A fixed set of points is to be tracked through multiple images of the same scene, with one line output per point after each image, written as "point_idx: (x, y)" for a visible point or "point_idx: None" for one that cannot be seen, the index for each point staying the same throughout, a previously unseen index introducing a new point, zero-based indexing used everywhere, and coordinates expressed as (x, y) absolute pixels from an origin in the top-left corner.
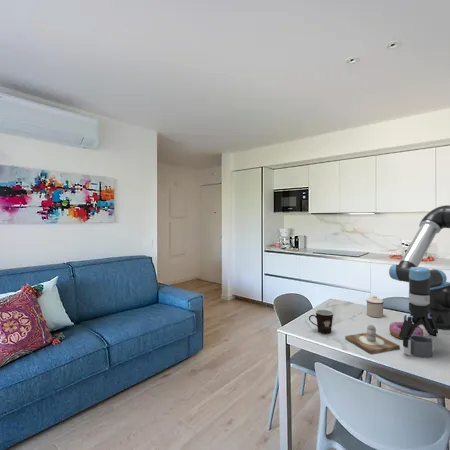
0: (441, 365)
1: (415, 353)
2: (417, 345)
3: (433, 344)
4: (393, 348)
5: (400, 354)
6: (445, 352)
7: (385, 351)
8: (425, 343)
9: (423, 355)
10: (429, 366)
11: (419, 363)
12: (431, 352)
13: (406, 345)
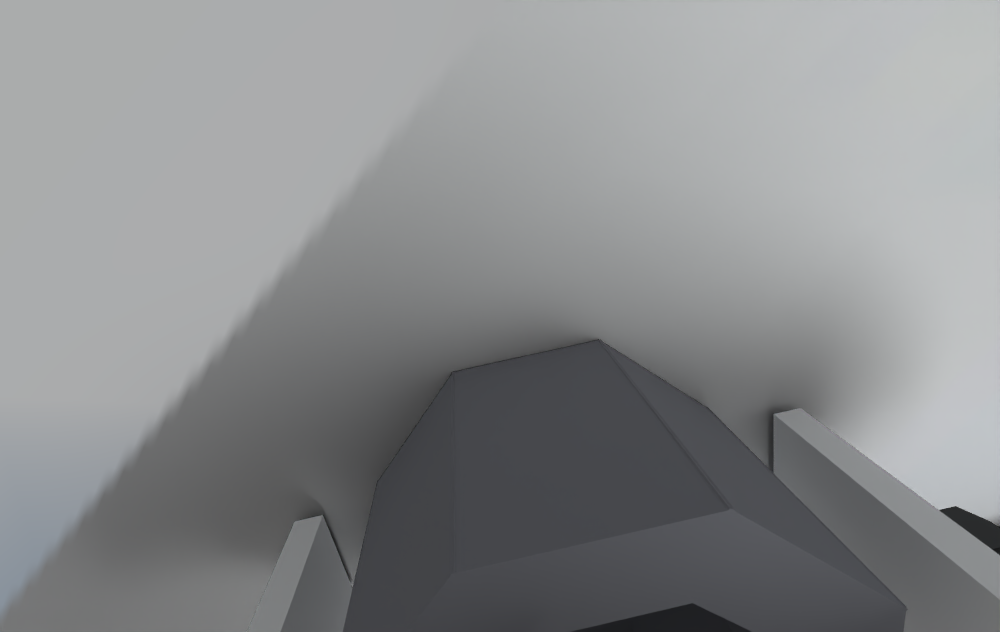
0: (539, 62)
1: (722, 425)
2: (802, 522)
3: (254, 623)
4: None
5: None
6: (109, 482)
7: None
8: (710, 528)
9: (630, 368)
10: (782, 59)
11: (847, 182)
12: (467, 405)
13: (993, 540)
